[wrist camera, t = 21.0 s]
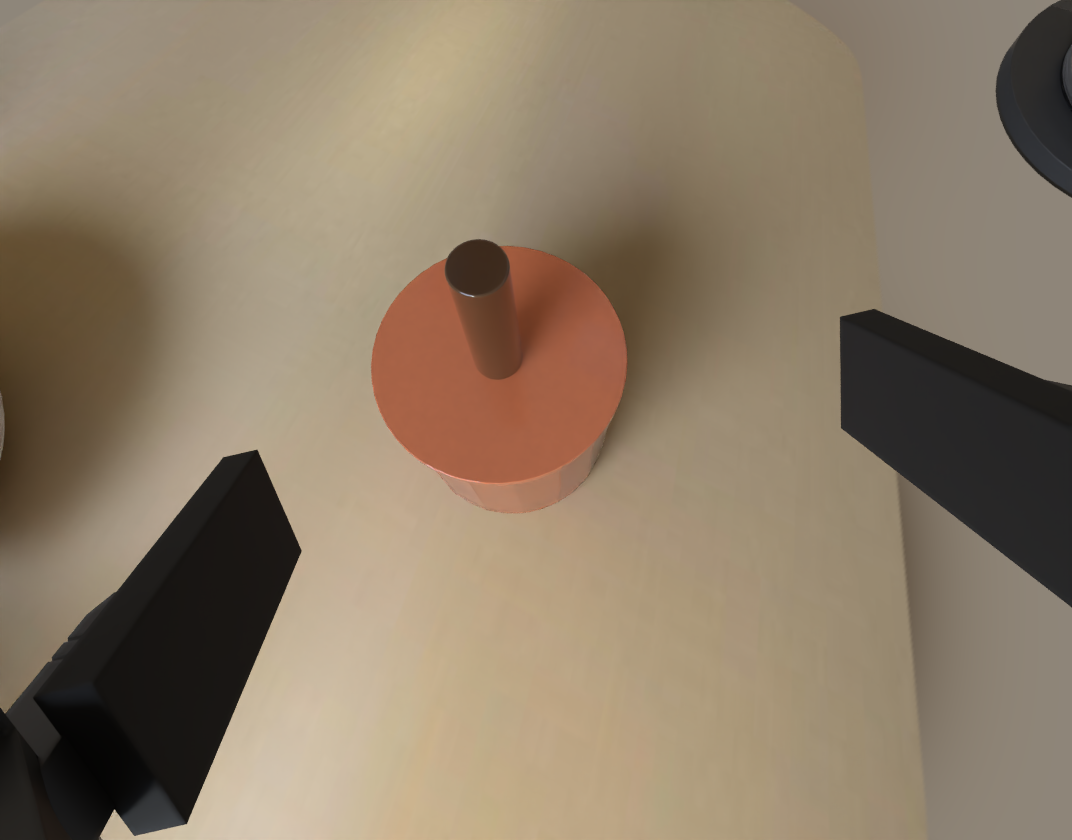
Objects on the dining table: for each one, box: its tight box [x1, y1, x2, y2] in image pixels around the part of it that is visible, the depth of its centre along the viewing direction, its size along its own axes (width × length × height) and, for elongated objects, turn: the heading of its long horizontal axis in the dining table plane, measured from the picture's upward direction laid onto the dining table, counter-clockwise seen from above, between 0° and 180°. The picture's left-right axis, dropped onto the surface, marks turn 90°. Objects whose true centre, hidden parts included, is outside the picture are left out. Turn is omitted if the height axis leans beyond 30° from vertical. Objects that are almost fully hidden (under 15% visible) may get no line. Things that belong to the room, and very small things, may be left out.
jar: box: [437, 429, 607, 513], centre depth 40 cm, size 13×13×12 cm
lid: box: [371, 239, 627, 486], centre depth 30 cm, size 14×14×10 cm
